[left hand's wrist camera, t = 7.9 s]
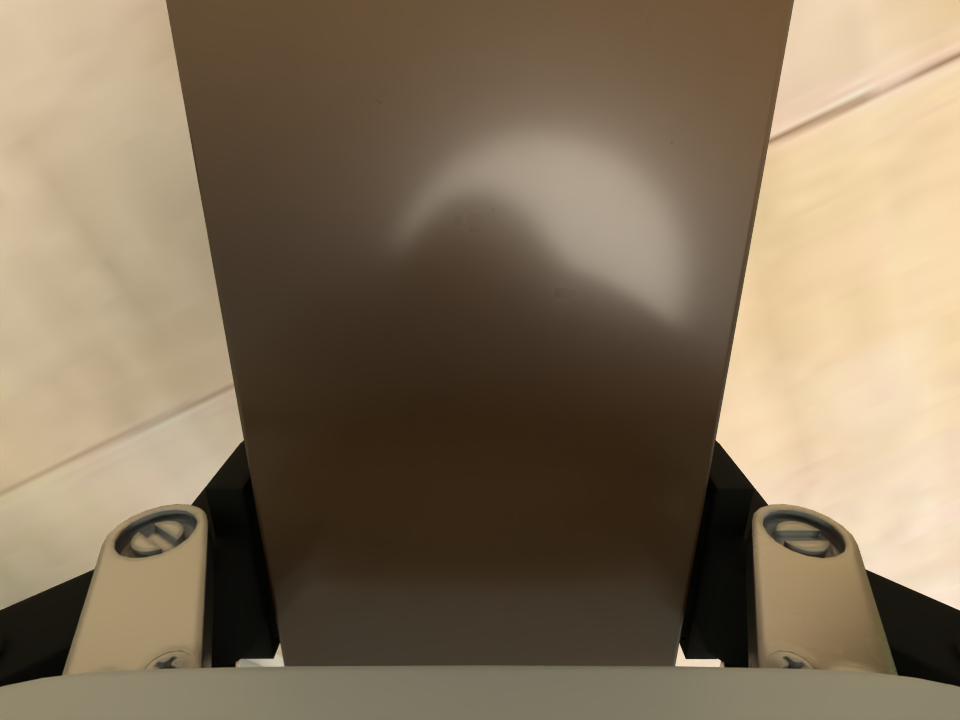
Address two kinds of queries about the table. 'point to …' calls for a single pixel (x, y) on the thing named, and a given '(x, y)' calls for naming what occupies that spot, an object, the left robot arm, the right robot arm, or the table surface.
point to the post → (479, 307)
